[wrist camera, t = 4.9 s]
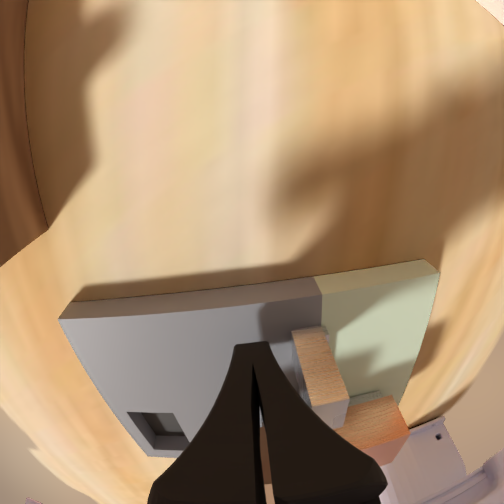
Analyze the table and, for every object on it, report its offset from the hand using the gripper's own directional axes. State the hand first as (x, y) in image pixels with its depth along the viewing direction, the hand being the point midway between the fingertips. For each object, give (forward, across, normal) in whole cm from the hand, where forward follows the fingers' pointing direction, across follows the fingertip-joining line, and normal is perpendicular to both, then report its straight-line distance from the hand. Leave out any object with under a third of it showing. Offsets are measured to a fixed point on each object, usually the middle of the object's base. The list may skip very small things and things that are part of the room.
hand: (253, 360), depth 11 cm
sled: (+1, -4, +4) cm, 6 cm away
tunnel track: (+3, 0, +5) cm, 5 cm away
